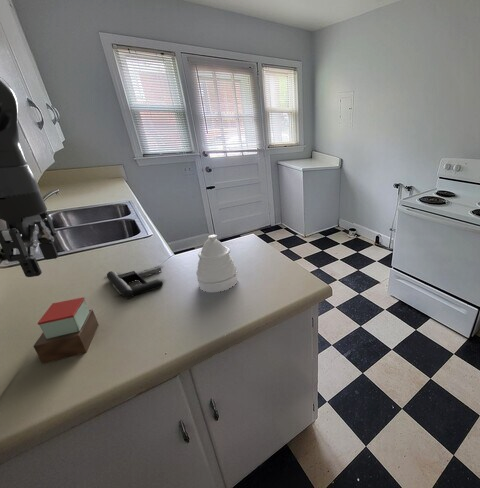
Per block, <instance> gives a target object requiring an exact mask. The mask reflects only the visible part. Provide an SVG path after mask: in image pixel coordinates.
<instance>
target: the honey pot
mask: <svg viewBox="0 0 480 488" xmlns="http://www.w3.org/2000/svg"><path fill="white" fill-rule="evenodd" d="M230 253H231V249H230V248H229V247H228V246H225V245H223V243H222V242H221V241H220V240H219V239H218V235H217V234H209V235H208V239H206V240H205V241H204V243H203V246H202V248H201V250H200V251H199V252H198V254H197V256H198V258H199V260H198V262H197V270H196V272H195V273H196V279H197V284H198V288H199V287H200V288H199V290H201V291H202V290H203V291H202V292H205V291H206V292H205V293H219V292H220V291H221V292H224V290H225V291H228V290H229V288H230V289H231V288H233V287H235V286H236V285H237V284H238V282H239V275H238V271H237V265H236V263H235V262H234V260H233V257H232V256H231V255H230ZM237 281H238V282H237ZM236 283H237V284H236ZM235 284H236V285H235ZM232 286H233V287H232Z"/></svg>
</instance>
